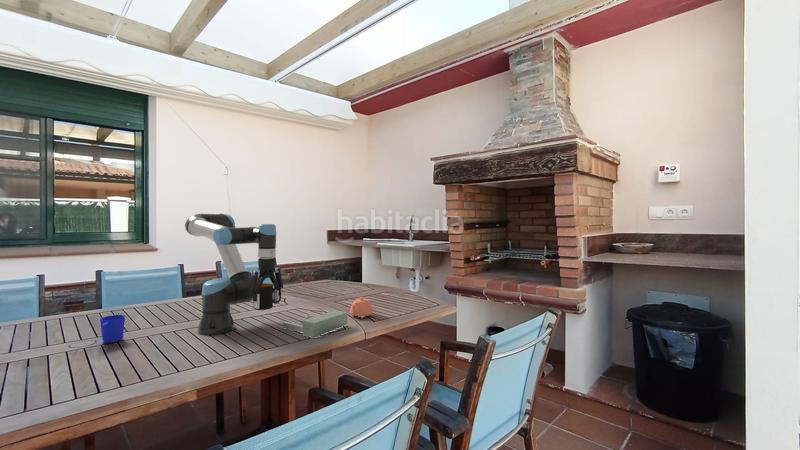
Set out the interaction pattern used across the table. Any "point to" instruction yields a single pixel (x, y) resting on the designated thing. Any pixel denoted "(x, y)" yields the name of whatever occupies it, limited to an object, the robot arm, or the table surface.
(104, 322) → the mug
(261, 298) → the mug
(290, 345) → the table surface
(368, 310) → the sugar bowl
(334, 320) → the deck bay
